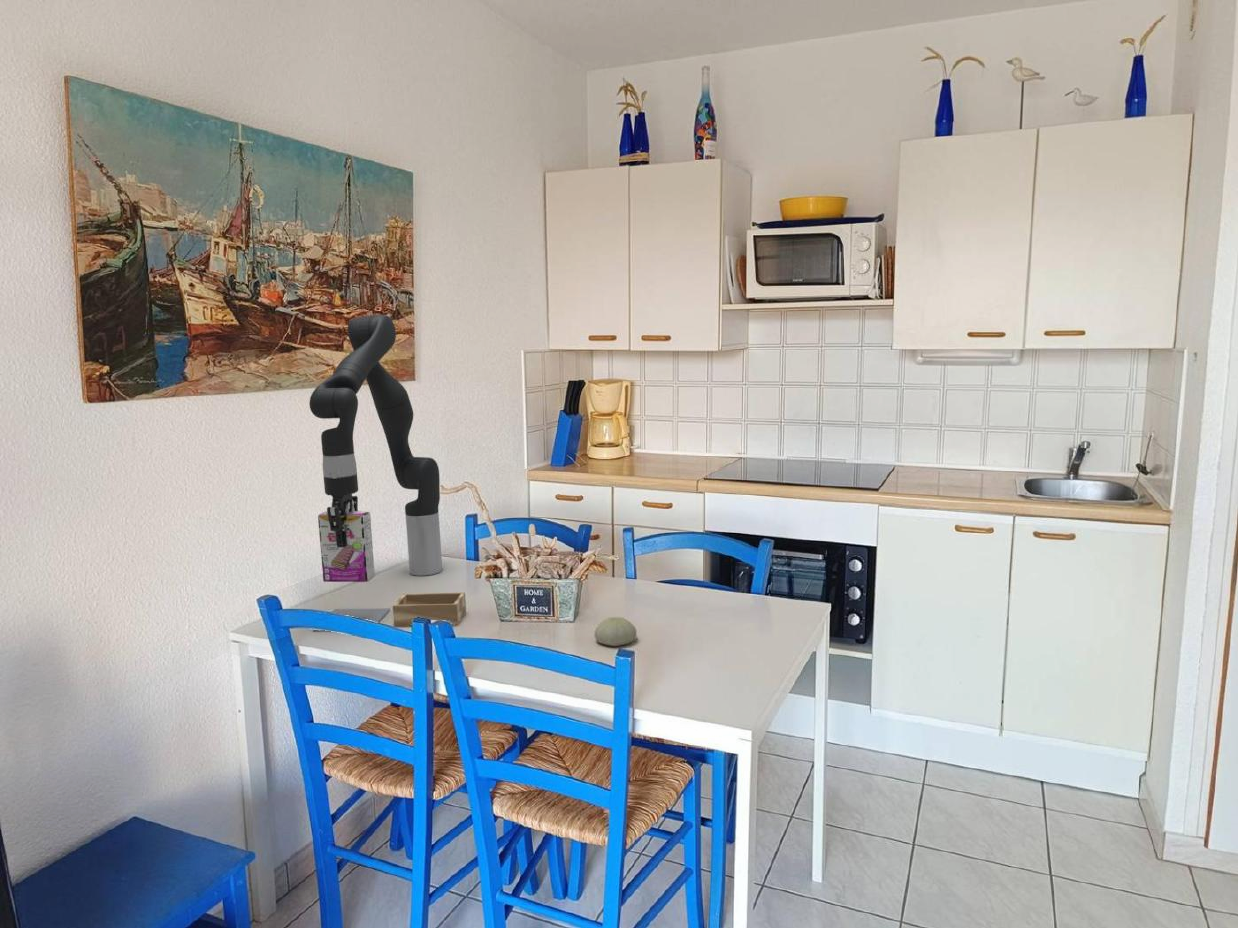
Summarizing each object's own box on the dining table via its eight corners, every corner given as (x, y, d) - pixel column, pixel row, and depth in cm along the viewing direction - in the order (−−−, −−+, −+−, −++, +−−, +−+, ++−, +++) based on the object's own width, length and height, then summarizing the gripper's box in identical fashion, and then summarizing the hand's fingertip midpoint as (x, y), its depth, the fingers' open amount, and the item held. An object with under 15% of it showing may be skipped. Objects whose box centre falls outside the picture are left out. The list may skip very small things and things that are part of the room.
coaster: (334, 611, 213) (334, 609, 213) (390, 610, 213) (390, 608, 213) (312, 631, 200) (312, 628, 200) (372, 630, 199) (371, 627, 199)
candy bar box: (322, 582, 203) (316, 515, 200) (331, 576, 208) (325, 510, 205) (368, 582, 202) (362, 514, 199) (376, 576, 207) (370, 510, 204)
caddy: (405, 613, 210) (403, 593, 209) (466, 612, 210) (464, 592, 209) (394, 626, 201) (392, 605, 200) (457, 625, 201) (456, 604, 200)
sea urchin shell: (636, 622, 193) (635, 607, 186) (637, 656, 188) (636, 640, 182) (596, 623, 193) (593, 608, 186) (595, 656, 188) (593, 641, 182)
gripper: (335, 468, 208) (341, 536, 211) (312, 479, 194) (319, 552, 196) (366, 467, 208) (371, 536, 210) (345, 478, 193) (351, 551, 196)
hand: (346, 543), depth 203 cm, fingers closed on candy bar box, 5 cm apart
